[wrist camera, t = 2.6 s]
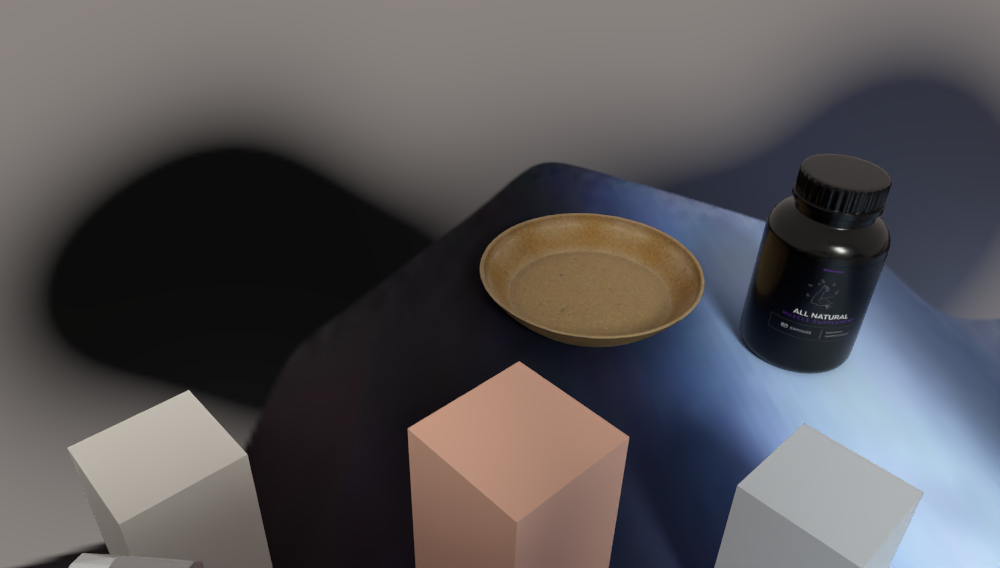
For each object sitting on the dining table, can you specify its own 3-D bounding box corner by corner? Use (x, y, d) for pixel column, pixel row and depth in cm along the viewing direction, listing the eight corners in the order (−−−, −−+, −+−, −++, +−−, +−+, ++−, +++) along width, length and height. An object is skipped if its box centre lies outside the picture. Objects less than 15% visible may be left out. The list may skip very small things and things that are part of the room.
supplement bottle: (792, 390, 47) (846, 211, 40) (715, 326, 52) (753, 157, 45) (875, 358, 50) (939, 184, 43) (795, 300, 55) (841, 136, 48)
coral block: (508, 585, 36) (519, 361, 28) (593, 664, 33) (629, 436, 26) (420, 657, 33) (407, 428, 26) (504, 750, 30) (517, 522, 23)
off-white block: (221, 514, 39) (188, 389, 34) (275, 580, 36) (247, 454, 31) (118, 574, 36) (67, 447, 31) (167, 652, 33) (119, 524, 28)
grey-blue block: (764, 545, 38) (804, 423, 33) (865, 616, 35) (924, 492, 30) (702, 610, 35) (737, 485, 31) (806, 693, 32) (862, 568, 28)
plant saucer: (657, 400, 46) (663, 365, 45) (438, 325, 52) (437, 292, 50) (723, 276, 57) (729, 245, 56) (536, 225, 63) (538, 195, 61)
